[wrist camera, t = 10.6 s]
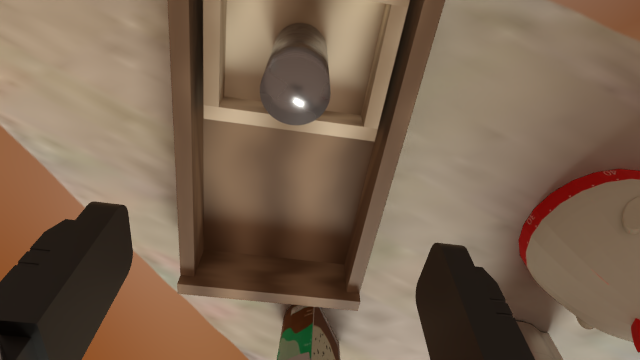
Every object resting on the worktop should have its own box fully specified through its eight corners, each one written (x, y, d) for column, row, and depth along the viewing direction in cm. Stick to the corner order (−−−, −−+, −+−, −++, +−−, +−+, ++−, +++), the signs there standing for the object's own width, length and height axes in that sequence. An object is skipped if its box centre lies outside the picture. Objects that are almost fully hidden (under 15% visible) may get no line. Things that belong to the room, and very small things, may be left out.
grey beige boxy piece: (403, -18, 26) (438, 7, 18) (369, 123, 31) (386, 188, 24) (214, -50, 25) (170, -37, 17) (213, 102, 30) (178, 162, 23)
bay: (435, -41, 26) (460, -34, 22) (352, 266, 41) (357, 310, 37) (186, -85, 25) (157, -87, 20) (193, 250, 40) (177, 293, 35)
